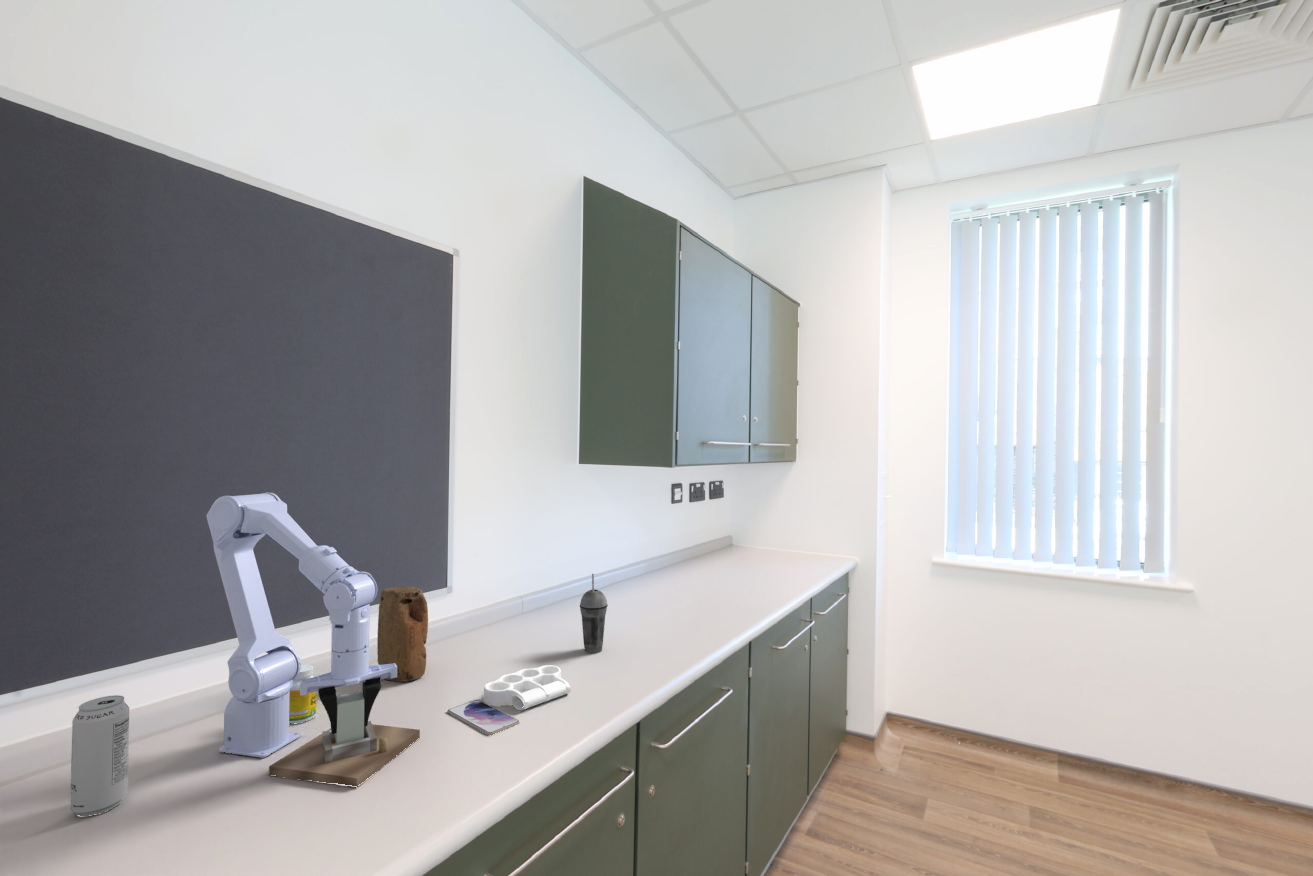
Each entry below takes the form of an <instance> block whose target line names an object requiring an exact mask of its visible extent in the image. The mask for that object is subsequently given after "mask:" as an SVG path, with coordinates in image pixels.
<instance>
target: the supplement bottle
mask: <svg viewBox="0 0 1313 876" xmlns="http://www.w3.org/2000/svg"><path fill="white" fill-rule="evenodd" d="M313 674H314V666H313V665H311V664H301V669H300V672H299V674H298V676H297V677H296V678H295V679H294V680H293V686H292V687H290V689H289V690H290V698H289V723H291V724H290V725H295V724H294V723H300V724H302V723H301V722H304V723H306V722H305V721H307V722H309V721H311V720H313V719H314V718H315V717H316V716H317V710H318V709H317V707H318V706H317V705H318V703H317V699H318V695H317V693H318V691H315V692H310V693H308V694H307V695H302V696H300V680H304V679H308V678H312V677H315V676H314V675H313ZM312 718H313V719H312ZM308 720H309V721H308Z"/></svg>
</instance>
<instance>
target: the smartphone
mask: <svg viewBox="0 0 1313 876" xmlns="http://www.w3.org/2000/svg"><path fill="white" fill-rule="evenodd" d="M449 713H450V714H452V715H453V716H452V715H451V716H452V717H454V716H455V717H454V718H456V719H457V718H458V720H459V719H460V720H459V721H461V720H462V721H461V722H462V723H465V724H466V723H467V724H466V725H468V724H469V725H468V726H470V727H471V728H473V727H474V729H475V730H477V731H478V730H479V732H480V731H481V733H482V732H483V733H482V734H484V735H486V736H488V735H491V736H494V735H496V734H495V733H497V734H498V732H499V733H501V732H503V730H504V731H506V730H508V729H511V728H513V727H515V725H516V726H518V725H520V720H519V719H517V718H515V717H513V716H511V715H509V714H508V713H507V714H506V713H505V712H503V711H501V710H499V709H497V708H495V707H494V706H489V705H487V704H485V703H484V701H481V700H479V699H476V700H472V701H469V702H466V703H463V704H460V705H456V706H454V707H452V708H449V709H447V714H449ZM450 714H449V715H450ZM510 727H511V728H510ZM505 729H506V730H505ZM500 731H501V732H500ZM493 734H494V735H493Z"/></svg>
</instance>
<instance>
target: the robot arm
mask: <svg viewBox="0 0 1313 876" xmlns="http://www.w3.org/2000/svg"><path fill="white" fill-rule="evenodd" d="M205 518H206V520H207V524H208V527H209V532H210V535H211V539H212V542H213V552H214V554H215V555H214V556H215V558H216V562H217V563H216V564H217V566H218V570H219V573H220V579H221V581H222V585H223V589H224V593H225V596H226V599H227V604H228V607H229V611H230V615H231V618H232V623H233V626H234V629H235V633H236V637H237V640H238V644H239V645H238V646H237V648H236V650H235V651H234V652H233V653H232V655H230V658H229V659H227V667H228V672H229V673H228V689H229V691H230V693H231V695H232V697H231V698H229V701H228V702H227V704H226V706H225V708H224V713H223V746H221V747H220V748H218V752H219V753H224V752H225V754H231V753H232V754H233V755H240V756H246V755H247V757H255V758H261V759H262V758H267V757H268V756H270V755H271V753H272V754H273V753H275V752H277V751H278V750H280V749H281V748H283V747H285V746H286V745H288V744H290V743H292V742H293V741H295V740H296V739H298V738H300V737H301V736H302V734H301V733H300V732H295V731H294V732H293V731H290V724H289V698H290V690H289V689H290V687H292V686H293V680H294V679H295V678H296V677H297V676H298V674H299V672H300V669H301V665H302V664H301V663H302V662H301V658H300V655H299V654H298V653H297V651H296V650H295V649H294V647H293V645H292V643H291V639H290V638H288V637H287V636H285V635H282V634H279V633H278V632H276V629H275V628H276V627H275V625H274V621H273V616H272V614H271V610H270V606H269V604H268V599H267V596H266V593H265V589H264V588H265V587H264V585H263V580H262V578H261V573H260V571H259V567H258V563H257V559H256V556H255V553H254V552H255V551H254V548H255V547H256V544H257V543H258V542H259V541H260V540H261V539H262V538H264V537H265V536H266V535H268V536H269V537H270V538H272V539H273V540H274V541H276V543H278V544H279V545H280V546H282V548H284V549H285V550H286V551H288V552H289V553H290V554H292V555H293V556H294V557H295V558H296V559H298V570H299V572H300V573H302V575H304V576H305V578H307V580H309V581H310V582H311V584H313V585H314V586H315V587H316V588H317V589H318V590H319V591H321V592H322V593H323V596H322V598H323V604H324V606H325V608H326V610H327V611H328V614H329V615H328V617H329V619H328V620H329V621H330V624H331V642H330V643H331V644H330V645H331V649H330V651H331V653H330V655H331V656H330V658H331V660H330V672H326V673H323V674H320V675H319V674H318V675H316V676H314V677H312V678H308V679H304V680H300V696H302V695H307V694H308V693H310V692H315V691H317V693H318V698H319V700H320V702H321V704H322V706H323V707H324V710H325V712H326V714H327V717H328V720H329V723H330V728H331V732H332V734H335V733H337V721H336V703H337V696H338V695H337V689H336V688H342V687H345V686H346V687H348V686H353V685H357V684H362V685H361V689H362V690H361V691H362V694H363V697H364V727H365V726H368V721H369V719H370V714H371V712H372V709H373V705H374V704H375V701H376V698H377V697H378V695H379V693H380V691H381V689H382V682H381V680H383V679H385V678H389V677H390V678H396V677H397V665H396V664H395V663H393V664H385V665H379V664H373V665H370V620H371V619H370V617H371V616H370V615H371V614H370V613H371V612H370V611H371V610H370V609H371V608H370V607H371V606H370V605H371V604H372V603H373V602H375V601H374V600H375V599H376V597H377V596H378V591H379V590H378V585H377V582H376V580H375V578H374V577H373V576H372V574H371V573H369V572H366V571H359V570H357V569H355V568H354V567H353V566H350V565H349V564H348V563H347V562H346V561H345V560H344V559H343V558H342V557H341V556H339V554H338V553H337V552H338V551H337V549H335V548H334V547H333V546H329V545H325V544H324V545H322V544H321V545H317V544H316V543H315V542H314V541H313V540H312V538H310V536H309V535H308V533H306V532H305V530H303V528H302V527H301V526H300V525H299V524H298V523H297V522H296V520H294V518H293V517H292V516H291V515H290V514H289V512H288V504H287V503H286V502H284V501H282V500H281V498H280V497H279V496H278V494H276V493H274V492H267V491H266V492H262V493H253V494H243V495H233V496H232V495H223V496H220V497H218V498H217V499H215V501H214V502H213V503H212V504H211V506H210V508H209V510H208V512H207V513H206V517H205ZM265 653H267V654H265ZM261 654H264V655H261ZM260 655H261V656H260ZM258 656H259V657H258Z"/></svg>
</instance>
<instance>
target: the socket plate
mask: <svg viewBox="0 0 1313 876" xmlns="http://www.w3.org/2000/svg"><path fill="white" fill-rule="evenodd" d="M420 732H421V730H420V729H415V728H409V727H408V728H407V727H400V726H398V727H397V726H390V725H381V724H375V723H373V724H372V720H368V726H365V727H364V739H360V740H356V741H352V742H348V743H344V744H339V745H336V741H335V734H332V732H331V727H330V728H329V729H327V730H323V731H321V734H319V735H318V736H316V737H314V738H313V739H311V740H309V741H308V742H306V743H304V744H303V745H301V746H300V747H298V748H296V749H295V750H293V751H291V752H290V753H288V754H287V755H285V756H283V757H282V758H280V759H278V760H277V761H275V762H274V763H272V764H271V765H269V766H268V776H269V775H276V776H279V777H278V778H281V777H285V778H284V779H288V778H292V779H291V780H295V779H300V780H299V781H302V780H312V781H319V782H326V783H338V784H345V785H352V786H358V785H359V784H361V783H362V782H364V781H365V780H366V779H367V778H369V777H370V776H371V775H372V774H374V773H375V772H377V771H378V770H379V769H380V770H382V769H383V768H384V767H385V766H387V765H388V764H389V763H390V762H392V761H393V760H394V759H396V758H397V757H396V755H398V754H399V753H400V752H402V751H403V750H404V749H405V748H407V747H408V746H409V745H410V744H412V743H413V742H414V743H415V742H417V741H418V740H419V739H420V738H421V737H420V735H421V733H420ZM418 738H419V739H418ZM417 739H418V740H417ZM416 740H417V741H416ZM414 743H413V744H414ZM413 744H412V745H413ZM410 746H411V745H410ZM410 746H409V747H410ZM409 747H408V748H409ZM408 748H407V749H408ZM405 750H406V749H405ZM405 750H404V751H405ZM404 751H403V752H404ZM403 752H402V753H403ZM400 754H401V753H400ZM400 754H399V755H400ZM399 755H398V756H399ZM392 759H393V760H392ZM391 760H392V761H391ZM389 761H390V762H389ZM388 762H389V763H388ZM387 763H388V764H387ZM386 764H387V765H386ZM384 765H385V766H384ZM383 766H384V767H383ZM382 767H383V768H382ZM381 768H382V769H381ZM380 770H379V771H380ZM379 771H378V772H379ZM378 772H377V773H378ZM375 774H376V773H375ZM375 774H374V775H375ZM370 778H371V777H370ZM370 778H369V779H370ZM365 782H366V781H365ZM365 782H364V783H365ZM361 785H362V784H361Z"/></svg>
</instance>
